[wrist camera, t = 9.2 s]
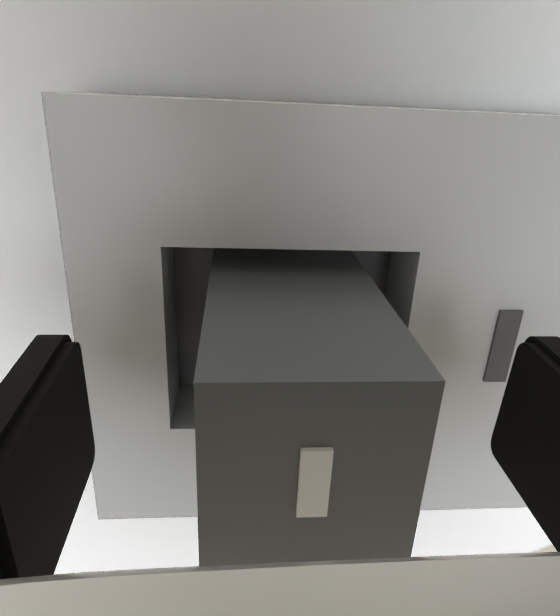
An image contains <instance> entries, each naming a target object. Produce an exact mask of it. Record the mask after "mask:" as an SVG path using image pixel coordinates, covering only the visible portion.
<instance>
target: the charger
mask: <svg viewBox="0 0 560 616" xmlns="http://www.w3.org/2000/svg"><path fill="white" fill-rule="evenodd" d="M445 382H446V381H445V379H444V378H443V377H442V375H441V374H440V373H439V371H438V370H437V368H436V367H435V366H434V364H433V363H432V361H431V360H430V359H429V357H428V356H427V355H426V353H425V352H424V350H423V349H422V348H421V346H420V345H419V343H418V342H417V341H416V339H415V338H414V336H413V335H412V334H411V332H410V331H409V330H408V328H407V327H406V325H405V324H404V323H403V321H402V320H401V318H400V317H399V316H398V314H397V313H396V312H395V310H394V309H393V307H392V306H391V305H390V303H389V302H388V300H387V299H386V298H385V296H384V295H383V294H382V292H381V291H380V289H379V288H378V287H377V285H376V284H375V282H374V281H373V280H372V278H371V277H370V276H369V274H368V273H367V271H366V270H365V269H364V267H363V266H362V264H361V263H360V262H359V260H358V259H357V257H356V256H355V255H354V253H353V252H352V251H347V250H296V249H245V248H214V249H213V256H212V262H211V269H210V276H209V282H208V289H207V296H206V302H205V309H204V316H203V322H202V329H201V336H200V342H199V349H198V356H197V362H196V369H195V376H194V382H193V384H194V415H195V446H196V478H197V509H198V540H199V566H218V565H240V564H262V563H284V562H306V561H330V560H355V559H379V558H404V557H411V552H412V547H413V542H414V537H415V532H416V527H417V522H418V517H419V512H420V507H421V502H422V497H423V492H424V487H425V482H426V477H427V472H428V467H429V462H430V457H431V452H432V447H433V442H434V437H435V432H436V427H437V422H438V417H439V412H440V407H441V402H442V397H443V392H444V387H445Z"/></svg>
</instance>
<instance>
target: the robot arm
mask: <svg viewBox="0 0 560 616" xmlns="http://www.w3.org/2000/svg"><path fill="white" fill-rule="evenodd" d="M491 451H492V454H493V456H494V458H495V459H496V460H497V462H498V463H499V465H500V466H501V468H502V469H503V471H504V472H505V474H506V475H507V477H508V478H509V480H510V481H511V483H512V484H513V486H514V487H515V489H516V490H517V492H518V493H519V495H520V496H521V498H522V499H523V501H524V502H525V504H526V505H527V507H528V508H529V510H530V511H531V513H532V514H533V516H534V517H535V519H536V520H537V522H538V523H539V525H540V526H541V528H542V529H543V530H544V532H545V533H546V535H547V536H548V538H549V539H550V541H551V542H552V544H553V545H554V547H555V548H556V550H557V551H558V552H542V553H541V552H540V553H510V554H482V555H456V556H430V557H404V558H379V559H355V560H330V561H306V562H284V563H262V564H240V565H218V566H196V567H174V568H153V569H135V570H116V571H97V572H82V573H69V574H56V575H53V574H54V571H55V568H56V566H57V563H58V560H59V557H60V555H61V552H62V549H63V546H64V544H65V541H66V538H67V535H68V533H69V530H70V527H71V524H72V522H73V519H74V516H75V513H76V510H77V508H78V505H79V502H80V499H81V497H82V494H83V491H84V488H85V486H86V483H87V480H88V477H89V475H90V472H91V469H92V466H93V463H94V458H95V443H94V436H93V429H92V422H91V414H90V407H89V400H88V393H87V386H86V379H85V372H84V365H83V358H82V351H81V346H80V344H79V342H72V341H71V339H70V337H69V336H68V335H37V336H36V337H35V338H34V340H33V341H32V342H31V343H30V345H29V346H28V347H27V349H26V350H25V351H24V353H23V354H22V355H21V357H20V358H19V359H18V361H17V362H16V363H15V365H14V366H13V367H12V369H11V370H10V371H9V373H8V374H7V375H6V377H5V378H4V379H3V381H2V382H1V383H0V616H560V338H559V337H558V336H530V337H528V338H527V339H526V340H525V342H524V343H521V344H519V346H518V347H517V350H516V353H515V357H514V360H513V364H512V367H511V371H510V374H509V378H508V381H507V385H506V388H505V392H504V395H503V399H502V402H501V406H500V409H499V413H498V416H497V420H496V423H495V427H494V430H493V434H492V437H491Z"/></svg>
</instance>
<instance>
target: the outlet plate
mask: <svg viewBox="0 0 560 616" xmlns="http://www.w3.org/2000/svg"><path fill="white" fill-rule="evenodd" d="M41 94H42V101H43V109H44V116H45V124H46V131H47V138H48V146H49V153H50V161H51V168H52V176H53V183H54V191H55V198H56V206H57V213H58V221H59V228H60V236H61V243H62V251H63V258H64V266H65V273H66V281H67V288H68V296H69V303H70V311H71V318H72V326H73V333H74V341H75V342H79V344H80V346H81V351H82V358H83V365H84V372H85V379H86V386H87V393H88V400H89V407H90V414H91V422H92V429H93V436H94V443H95V458H94V463H93V466H92V476H93V483H94V491H95V498H96V506H97V513H98V519H128V518H164V517H198V509H197V478H196V446H195V415H194V384H193V382H194V376H195V369H196V362H197V356H198V349H199V342H200V336H201V329H202V322H203V316H204V309H205V302H206V296H207V289H208V282H209V276H210V269H211V262H212V256H213V249H214V248H245V249H296V250H347V251H352V252H353V253H354V255H355V256H356V257H357V259H358V260H359V262H360V263H361V264H362V266H363V267H364V269H365V270H366V271H367V273H368V274H369V276H370V277H371V278H372V280H373V281H374V282H375V284H376V285H377V287H378V288H379V289H380V291H381V292H382V294H383V295H384V296H385V298H386V299H387V300H388V302H389V303H390V305H391V306H392V307H393V309H394V310H395V312H396V313H397V314H398V316H399V317H400V318H401V320H402V321H403V323H404V324H405V325H406V327H407V328H408V330H409V331H410V332H411V334H412V335H413V336H414V338H415V339H416V341H417V342H418V343H419V345H420V346H421V348H422V349H423V350H424V352H425V353H426V355H427V356H428V357H429V359H430V360H431V361H432V363H433V364H434V366H435V367H436V368H437V370H438V371H439V373H440V374H441V375H442V377H443V378H444V379H445V381H446V382H445V387H444V392H443V397H442V402H441V407H440V412H439V417H438V422H437V427H436V432H435V437H434V442H433V447H432V452H431V457H430V462H429V467H428V472H427V477H426V482H425V487H424V492H423V497H422V502H421V507H420V510H446V509H481V508H517V507H527V505H526V504H525V502H524V501H523V499H522V498H521V496H520V495H519V493H518V492H517V490H516V489H515V487H514V486H513V484H512V483H511V481H510V480H509V478H508V477H507V475H506V474H505V472H504V471H503V469H502V468H501V466H500V465H499V463H498V462H497V460H496V459H495V458H494V456H493V454H492V451H491V437H492V434H493V430H494V427H495V423H496V420H497V416H498V413H499V409H500V406H501V402H502V399H503V395H504V392H505V388H506V385H507V381H508V378H509V374H510V371H511V367H512V364H513V360H514V357H515V353H516V350H517V347H518V346H519V344H521V343H524V342H525V340H526V339H527V338H528V337H530V336H558V337H559V338H560V115H557V114H536V113H514V112H493V111H471V110H449V109H428V108H406V107H385V106H363V105H342V104H320V103H298V102H277V101H255V100H234V99H212V98H190V97H169V96H147V95H126V94H104V93H82V92H41Z"/></svg>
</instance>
